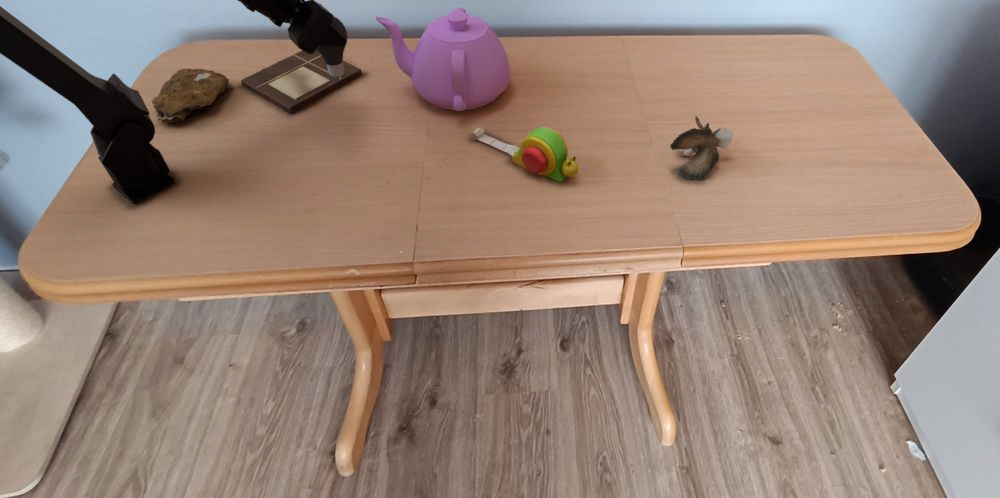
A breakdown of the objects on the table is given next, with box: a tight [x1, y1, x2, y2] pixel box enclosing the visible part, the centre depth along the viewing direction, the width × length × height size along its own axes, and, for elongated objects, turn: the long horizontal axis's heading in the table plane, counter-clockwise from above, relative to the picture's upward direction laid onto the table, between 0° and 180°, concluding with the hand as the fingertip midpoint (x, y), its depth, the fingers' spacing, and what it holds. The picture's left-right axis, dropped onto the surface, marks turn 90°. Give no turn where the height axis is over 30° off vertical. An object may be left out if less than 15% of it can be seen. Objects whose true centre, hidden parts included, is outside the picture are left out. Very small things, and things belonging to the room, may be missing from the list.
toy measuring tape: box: [470, 126, 580, 183], centre depth 88 cm, size 6×20×7 cm, turn 51°
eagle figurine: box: [669, 115, 734, 181], centre depth 88 cm, size 8×7×9 cm
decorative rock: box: [151, 68, 230, 124], centre depth 100 cm, size 11×4×15 cm
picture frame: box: [240, 50, 363, 115], centre depth 106 cm, size 16×14×1 cm
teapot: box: [375, 7, 511, 112], centre depth 99 cm, size 22×22×14 cm
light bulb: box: [316, 16, 348, 78], centre depth 91 cm, size 6×6×10 cm
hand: (337, 35), depth 90 cm, fingers closed on light bulb, 5 cm apart
